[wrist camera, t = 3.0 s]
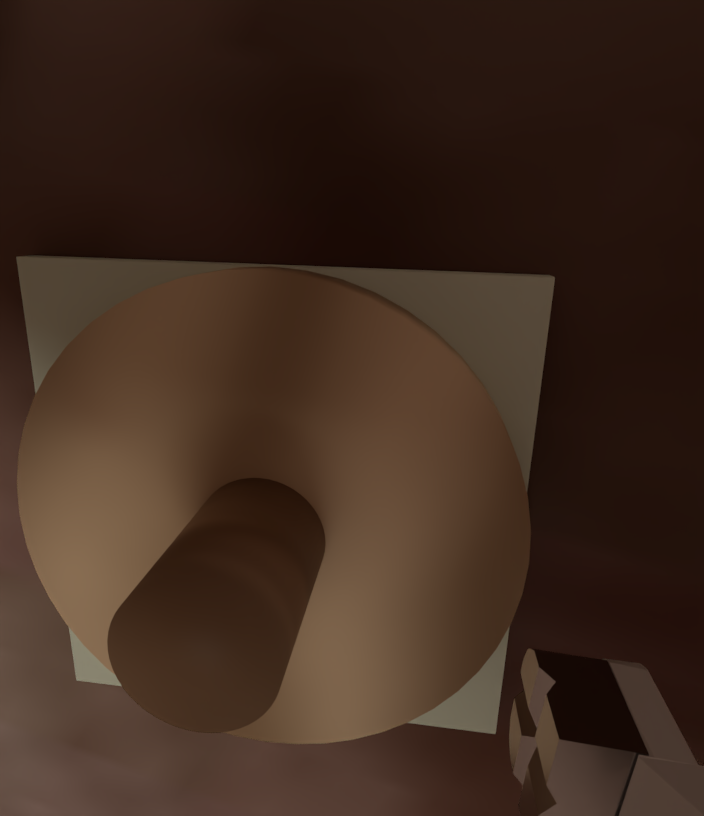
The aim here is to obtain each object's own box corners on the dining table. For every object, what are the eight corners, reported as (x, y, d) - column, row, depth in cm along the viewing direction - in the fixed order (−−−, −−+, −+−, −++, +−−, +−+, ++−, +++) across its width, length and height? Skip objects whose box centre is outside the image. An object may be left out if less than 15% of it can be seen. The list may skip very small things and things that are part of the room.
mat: (549, 275, 13) (555, 277, 12) (493, 716, 16) (495, 734, 16) (32, 255, 14) (15, 256, 13) (87, 665, 18) (76, 680, 17)
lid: (555, 277, 12) (640, 314, 7) (495, 734, 16) (523, 967, 11) (17, 255, 13) (-223, 273, 9) (76, 679, 17) (-69, 863, 12)
